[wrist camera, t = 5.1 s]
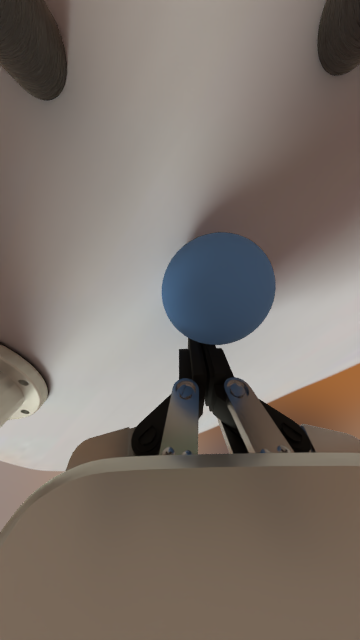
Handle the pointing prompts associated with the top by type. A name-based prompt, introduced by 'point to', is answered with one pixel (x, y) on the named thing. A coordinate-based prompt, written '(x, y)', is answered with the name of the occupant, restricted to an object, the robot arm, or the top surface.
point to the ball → (218, 288)
